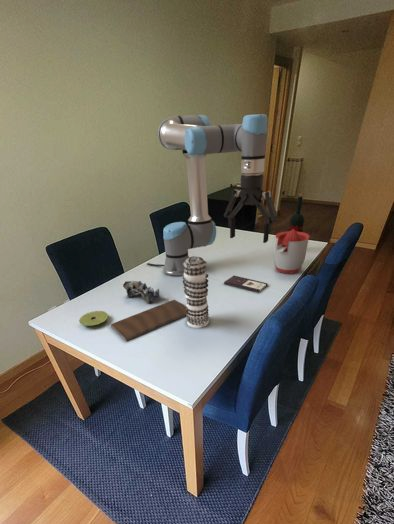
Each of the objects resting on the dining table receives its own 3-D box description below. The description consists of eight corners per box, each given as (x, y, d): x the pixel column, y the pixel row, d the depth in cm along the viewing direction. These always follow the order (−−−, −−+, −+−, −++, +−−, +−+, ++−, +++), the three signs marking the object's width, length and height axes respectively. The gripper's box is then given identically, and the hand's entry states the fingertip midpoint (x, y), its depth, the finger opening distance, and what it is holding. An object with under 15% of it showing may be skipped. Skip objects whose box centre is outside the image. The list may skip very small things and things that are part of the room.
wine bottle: (282, 253, 168) (290, 195, 150) (287, 248, 175) (295, 192, 157) (296, 255, 165) (305, 196, 147) (300, 249, 172) (310, 192, 154)
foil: (137, 302, 122) (122, 274, 126) (137, 315, 132) (122, 289, 135) (162, 293, 126) (147, 267, 130) (160, 306, 136) (145, 281, 140)
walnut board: (126, 341, 106) (125, 338, 105) (111, 326, 114) (110, 324, 113) (192, 312, 120) (192, 310, 119) (174, 301, 128) (174, 299, 127)
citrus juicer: (263, 271, 150) (267, 230, 138) (284, 261, 158) (289, 222, 146) (289, 279, 140) (295, 237, 128) (309, 269, 149) (317, 228, 137)
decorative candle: (195, 313, 119) (191, 252, 104) (214, 319, 114) (213, 256, 99) (181, 323, 113) (175, 260, 98) (200, 330, 109) (197, 265, 94)
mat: (113, 323, 116) (111, 319, 115) (84, 332, 112) (83, 328, 110) (103, 312, 124) (102, 308, 123) (77, 320, 119) (75, 316, 118)
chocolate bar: (233, 275, 145) (267, 283, 136) (233, 277, 145) (267, 285, 136) (224, 282, 139) (258, 290, 130) (224, 283, 140) (258, 292, 131)
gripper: (214, 174, 100) (214, 238, 113) (284, 176, 88) (276, 247, 101) (225, 171, 105) (224, 232, 118) (293, 173, 93) (284, 240, 106)
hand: (248, 239), depth 110 cm, fingers open, 13 cm apart
